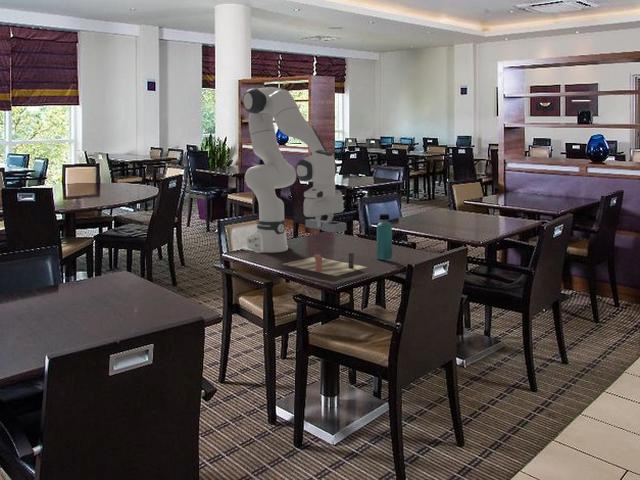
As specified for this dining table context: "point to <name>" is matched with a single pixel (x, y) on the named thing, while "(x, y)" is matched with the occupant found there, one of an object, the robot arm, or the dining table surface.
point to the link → (326, 225)
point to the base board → (325, 266)
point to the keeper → (318, 262)
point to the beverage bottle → (384, 238)
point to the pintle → (351, 260)
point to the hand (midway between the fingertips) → (324, 225)
